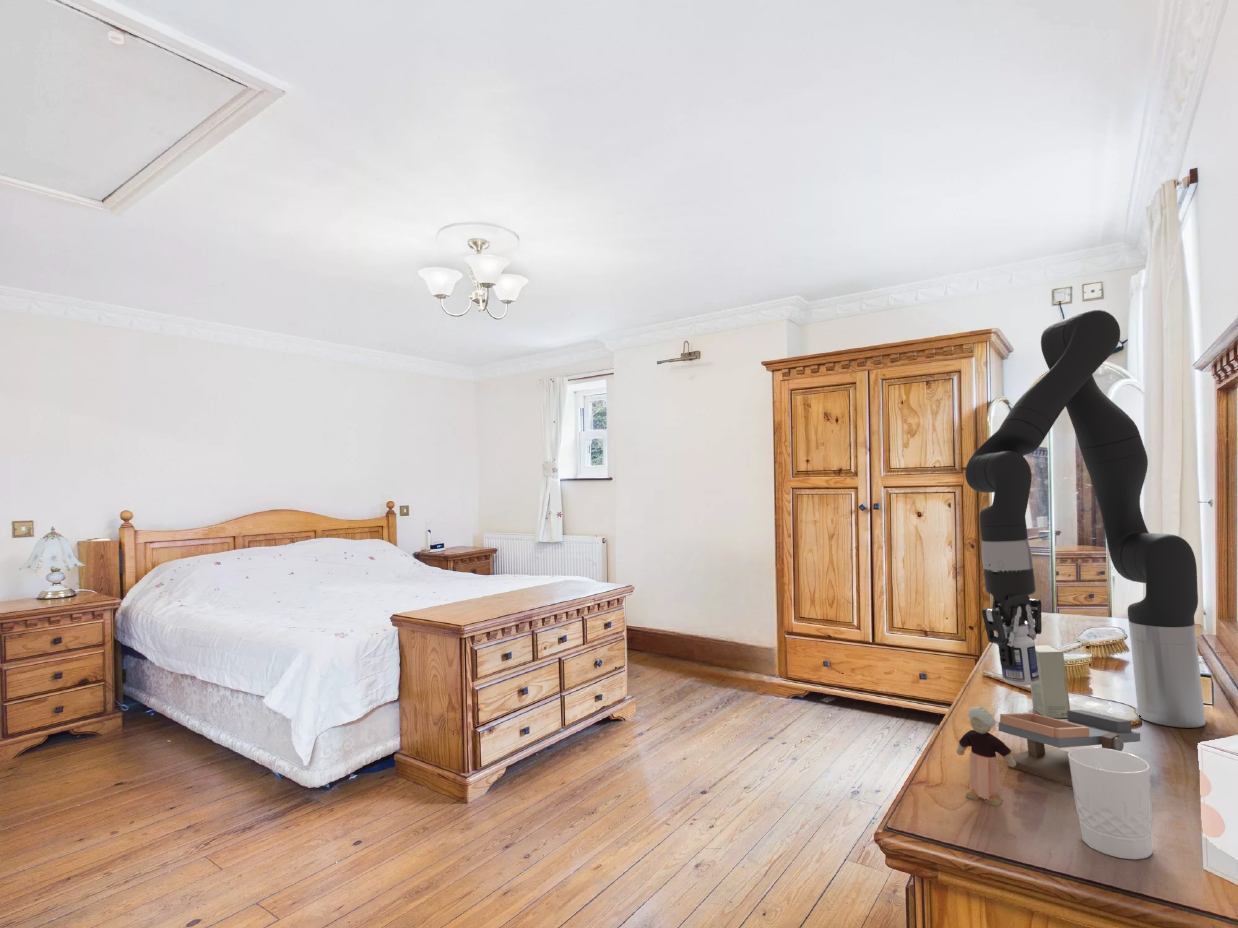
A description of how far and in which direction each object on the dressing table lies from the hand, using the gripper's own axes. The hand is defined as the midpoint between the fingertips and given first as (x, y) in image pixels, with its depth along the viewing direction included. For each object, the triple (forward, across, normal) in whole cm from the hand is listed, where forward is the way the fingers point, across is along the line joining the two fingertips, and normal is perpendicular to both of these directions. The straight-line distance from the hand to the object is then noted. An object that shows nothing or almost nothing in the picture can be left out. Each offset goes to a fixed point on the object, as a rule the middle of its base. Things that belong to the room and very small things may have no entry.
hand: (1018, 663), depth 112 cm
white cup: (+13, +26, +25) cm, 38 cm away
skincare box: (+13, -16, -4) cm, 21 cm away
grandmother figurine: (+12, +26, +10) cm, 31 cm away
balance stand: (+12, +8, +12) cm, 19 cm away
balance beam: (+6, +8, +12) cm, 16 cm away
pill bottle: (+3, 0, 0) cm, 3 cm away
